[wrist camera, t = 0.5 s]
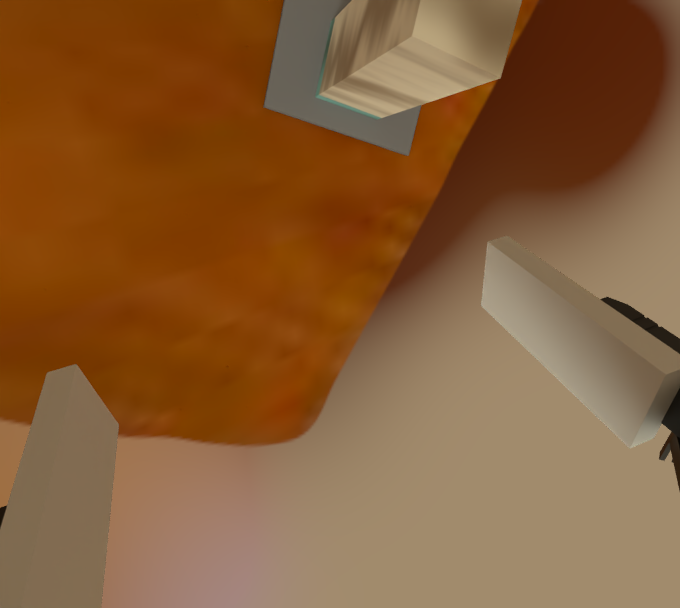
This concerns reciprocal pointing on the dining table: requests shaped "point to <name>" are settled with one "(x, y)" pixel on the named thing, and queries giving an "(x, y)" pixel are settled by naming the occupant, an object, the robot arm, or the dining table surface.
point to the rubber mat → (303, 75)
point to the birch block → (413, 52)
